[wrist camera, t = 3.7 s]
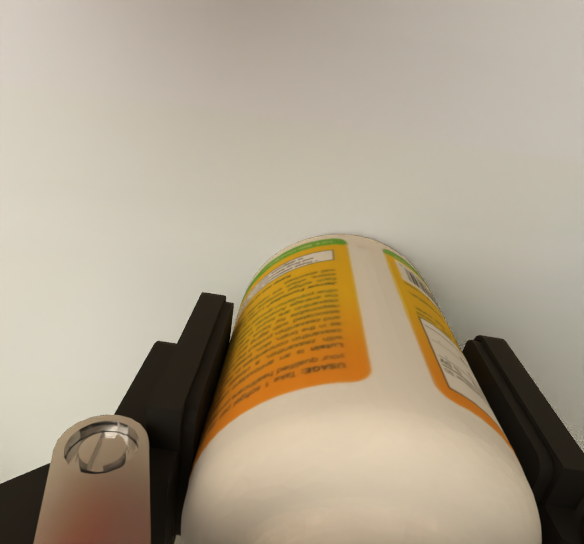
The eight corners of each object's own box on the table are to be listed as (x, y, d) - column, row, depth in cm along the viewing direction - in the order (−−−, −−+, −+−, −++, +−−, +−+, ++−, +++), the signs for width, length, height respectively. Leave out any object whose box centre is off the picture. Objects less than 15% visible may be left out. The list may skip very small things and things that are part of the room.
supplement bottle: (226, 373, 14) (82, 888, 5) (262, 207, 12) (119, 614, 3) (395, 410, 14) (526, 954, 6) (460, 255, 12) (843, 748, 3)
